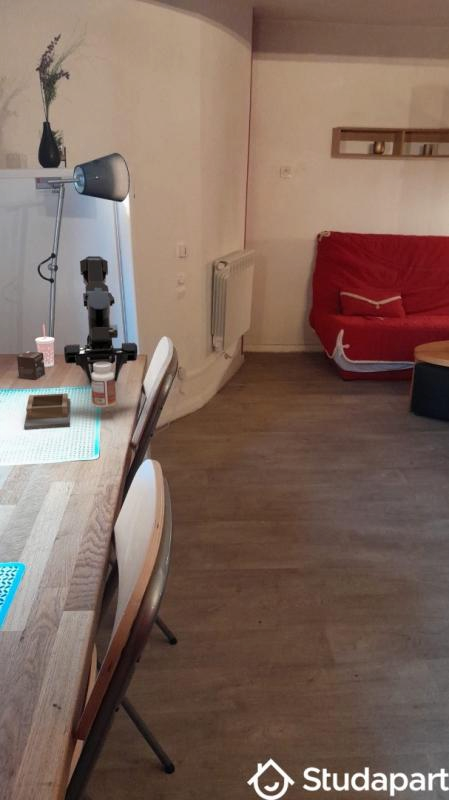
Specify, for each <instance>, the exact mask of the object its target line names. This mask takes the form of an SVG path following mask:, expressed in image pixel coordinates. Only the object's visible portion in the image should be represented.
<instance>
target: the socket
mask: <svg viewBox="0 0 449 800" xmlns="http://www.w3.org/2000/svg"><path fill="white" fill-rule="evenodd" d="M68 395H69V393H67V392H66V393H50V394H49V393H46V394H33V395H31V394H29V395H28V400H27V403H26V409H25V410H26V414H25V419H24V425H23V430H24V429H25V430H24V431H26V430H39V428H42V429H55V428H67V427H68V428H70V427H71V398H69V396H68Z"/></svg>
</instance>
